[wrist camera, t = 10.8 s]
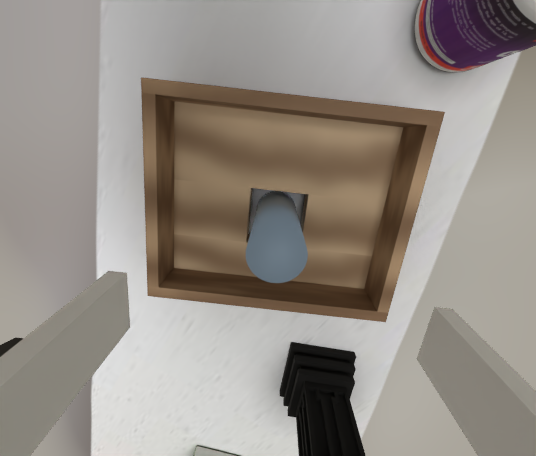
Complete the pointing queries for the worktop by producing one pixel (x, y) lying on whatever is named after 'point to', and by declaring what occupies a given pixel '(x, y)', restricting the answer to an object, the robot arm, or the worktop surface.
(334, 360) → the chess piece
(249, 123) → the box
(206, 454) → the ink box
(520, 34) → the pill bottle
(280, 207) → the peg
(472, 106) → the worktop surface
